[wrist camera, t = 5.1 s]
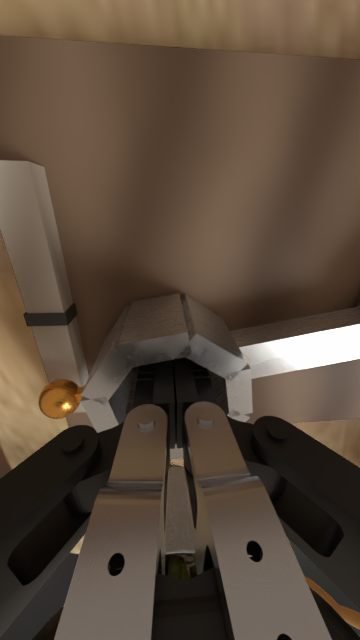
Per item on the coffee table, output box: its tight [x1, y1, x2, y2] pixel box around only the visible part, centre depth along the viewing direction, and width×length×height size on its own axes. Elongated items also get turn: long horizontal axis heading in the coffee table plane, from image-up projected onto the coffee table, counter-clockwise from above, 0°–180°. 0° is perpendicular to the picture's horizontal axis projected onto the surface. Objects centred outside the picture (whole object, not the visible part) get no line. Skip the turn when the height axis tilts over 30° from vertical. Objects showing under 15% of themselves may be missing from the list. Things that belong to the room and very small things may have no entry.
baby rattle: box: [39, 293, 360, 459], centre depth 11 cm, size 24×7×4 cm, turn 100°
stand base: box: [0, 36, 360, 429], centre depth 12 cm, size 25×19×3 cm
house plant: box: [165, 466, 197, 580], centre depth 15 cm, size 14×14×16 cm
